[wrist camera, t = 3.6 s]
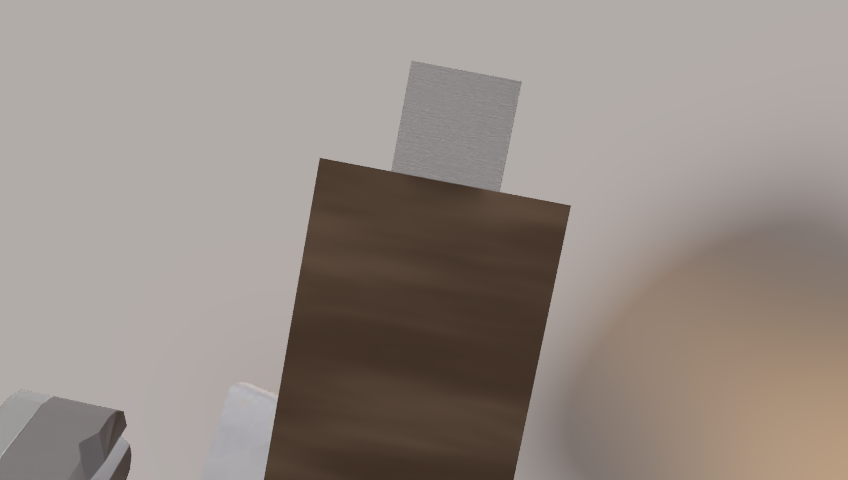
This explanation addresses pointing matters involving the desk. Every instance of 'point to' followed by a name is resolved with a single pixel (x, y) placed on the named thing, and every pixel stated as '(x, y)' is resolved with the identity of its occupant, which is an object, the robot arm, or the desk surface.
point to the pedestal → (413, 329)
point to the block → (456, 126)
